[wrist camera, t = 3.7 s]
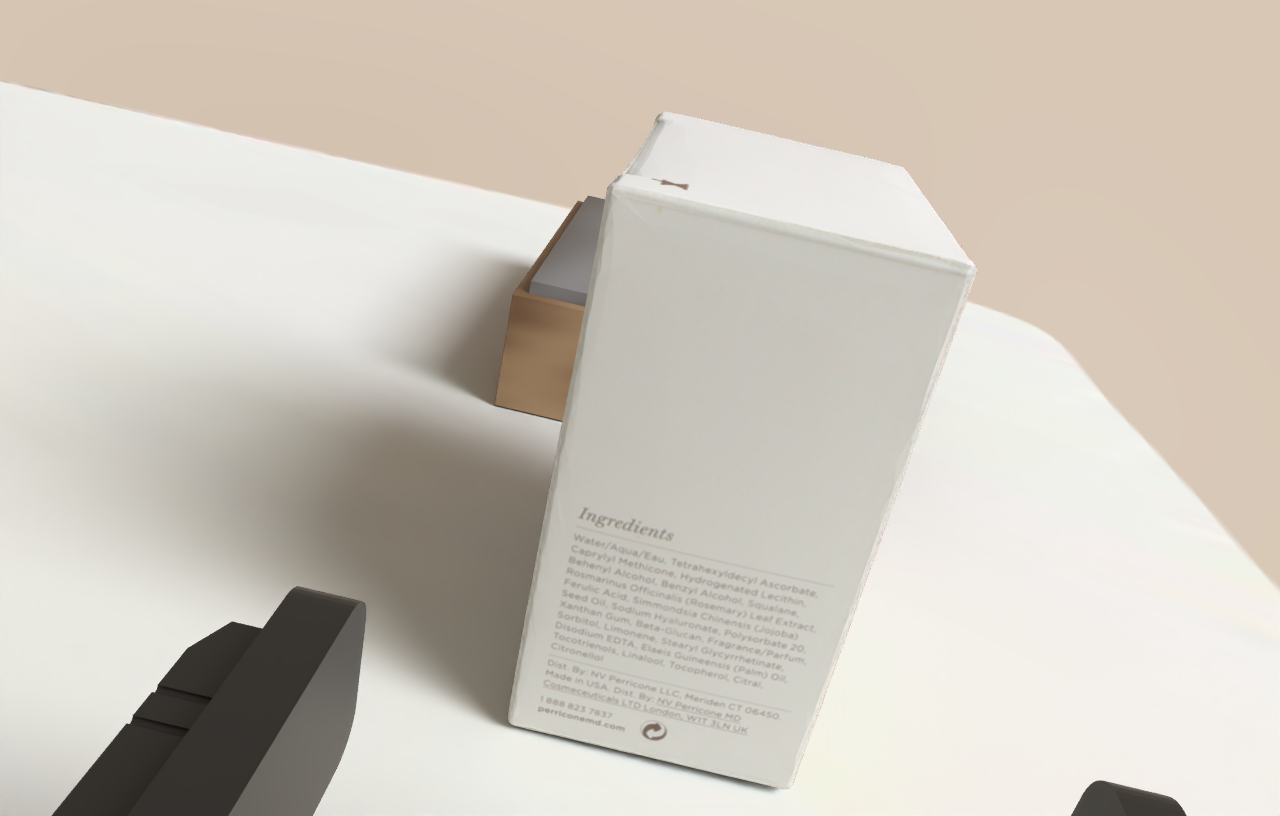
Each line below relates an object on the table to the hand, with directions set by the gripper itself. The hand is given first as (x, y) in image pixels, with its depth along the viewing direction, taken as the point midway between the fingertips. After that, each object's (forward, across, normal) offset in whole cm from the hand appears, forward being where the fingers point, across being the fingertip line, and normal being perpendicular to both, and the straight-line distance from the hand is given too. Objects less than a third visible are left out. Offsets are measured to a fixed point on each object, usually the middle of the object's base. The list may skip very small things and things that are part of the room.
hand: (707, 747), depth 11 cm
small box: (+10, 0, +6) cm, 11 cm away
